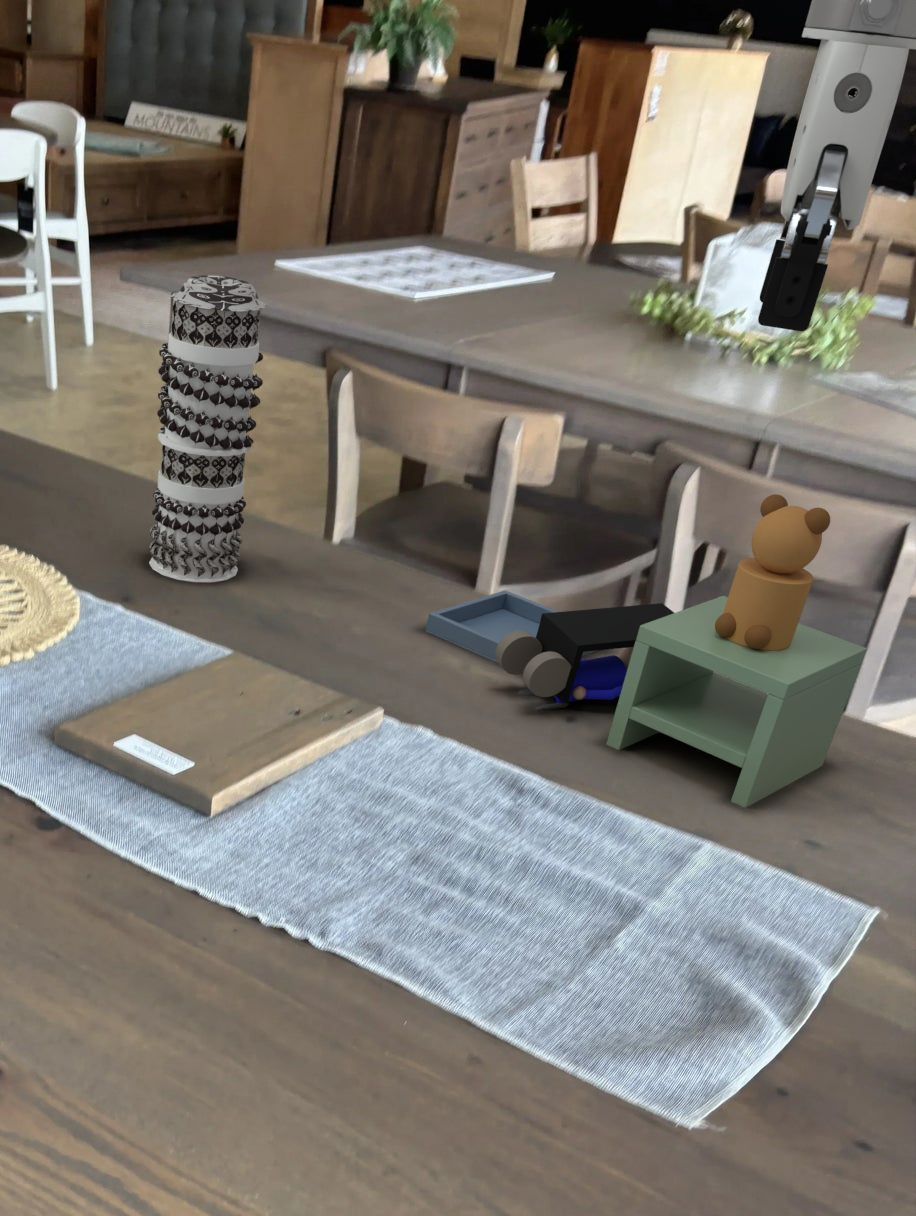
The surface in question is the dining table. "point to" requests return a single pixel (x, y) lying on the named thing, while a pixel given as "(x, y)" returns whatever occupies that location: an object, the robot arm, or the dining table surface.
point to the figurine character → (576, 652)
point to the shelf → (737, 697)
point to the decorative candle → (205, 428)
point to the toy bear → (773, 577)
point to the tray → (487, 621)
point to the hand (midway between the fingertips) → (781, 315)
